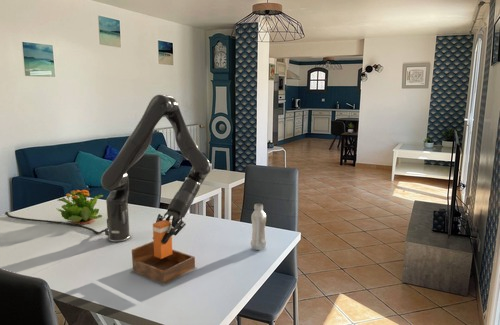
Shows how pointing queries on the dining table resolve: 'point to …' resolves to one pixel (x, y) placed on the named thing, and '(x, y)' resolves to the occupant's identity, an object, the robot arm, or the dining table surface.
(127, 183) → the robot arm
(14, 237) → the dining table surface
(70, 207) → the potted flower
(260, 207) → the plastic bottle
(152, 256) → the drawer
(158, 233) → the packet
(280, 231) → the dining table surface
